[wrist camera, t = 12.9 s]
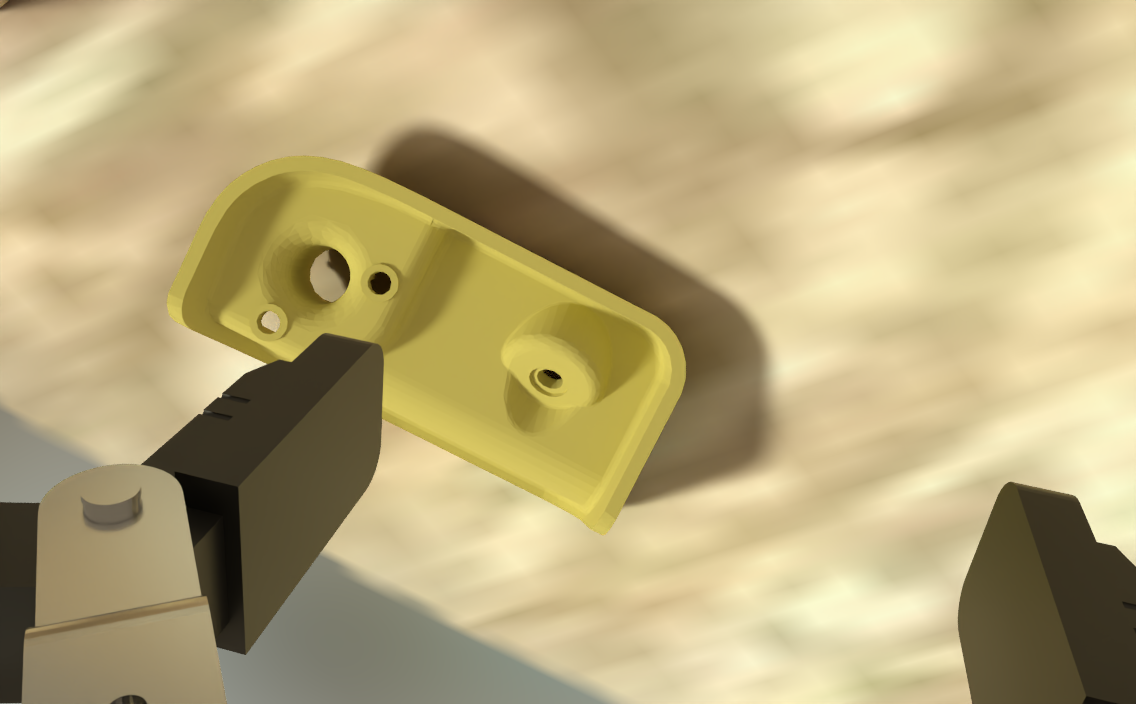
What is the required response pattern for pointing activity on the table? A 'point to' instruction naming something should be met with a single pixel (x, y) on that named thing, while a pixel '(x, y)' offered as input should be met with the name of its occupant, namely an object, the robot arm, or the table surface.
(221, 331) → the plastic component
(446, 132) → the table surface
